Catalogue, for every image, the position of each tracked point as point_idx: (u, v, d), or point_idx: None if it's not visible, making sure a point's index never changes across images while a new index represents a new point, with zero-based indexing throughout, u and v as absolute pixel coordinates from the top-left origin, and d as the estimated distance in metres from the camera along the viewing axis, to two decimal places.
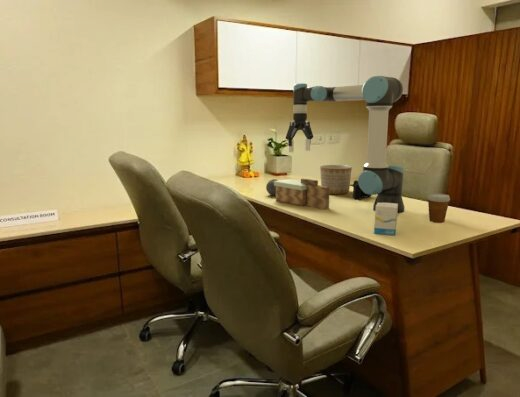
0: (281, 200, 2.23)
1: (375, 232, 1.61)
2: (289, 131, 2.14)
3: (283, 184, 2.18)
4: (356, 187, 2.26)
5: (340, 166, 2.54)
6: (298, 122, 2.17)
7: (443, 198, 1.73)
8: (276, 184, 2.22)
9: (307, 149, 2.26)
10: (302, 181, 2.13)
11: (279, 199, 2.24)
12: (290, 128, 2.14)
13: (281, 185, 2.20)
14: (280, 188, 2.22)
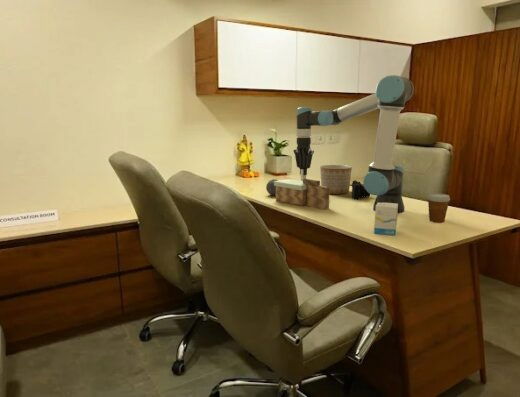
0: (281, 200, 2.23)
1: (375, 232, 1.61)
2: None
3: (283, 184, 2.18)
4: (355, 187, 2.26)
5: (340, 166, 2.54)
6: (298, 146, 2.12)
7: (443, 198, 1.73)
8: (276, 184, 2.22)
9: None
10: (304, 181, 2.12)
11: (279, 199, 2.24)
12: None
13: (281, 185, 2.20)
14: (280, 188, 2.22)
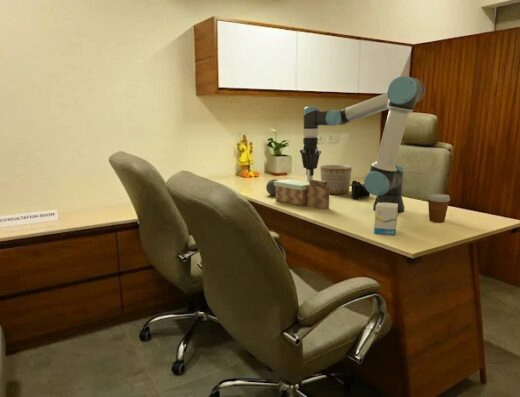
0: (281, 200, 2.23)
1: (375, 232, 1.61)
2: None
3: (283, 184, 2.18)
4: (355, 187, 2.25)
5: (340, 166, 2.54)
6: (304, 146, 2.09)
7: (443, 198, 1.73)
8: (276, 184, 2.22)
9: None
10: (311, 182, 2.09)
11: (279, 199, 2.24)
12: None
13: (281, 185, 2.20)
14: (280, 188, 2.22)
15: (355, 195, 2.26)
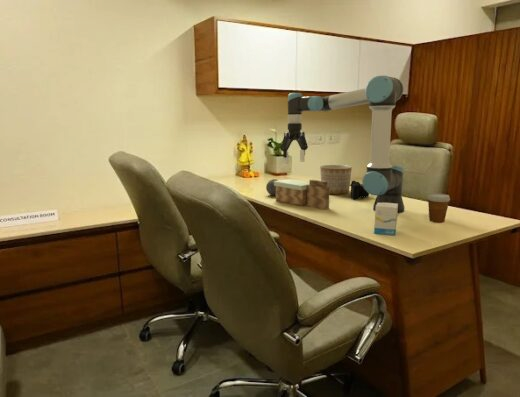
0: (281, 200, 2.23)
1: (375, 232, 1.61)
2: (284, 142, 2.10)
3: (283, 184, 2.18)
4: (354, 187, 2.25)
5: (340, 166, 2.54)
6: (292, 132, 2.12)
7: (443, 198, 1.73)
8: (276, 184, 2.22)
9: (301, 160, 2.21)
10: (311, 182, 2.09)
11: (279, 199, 2.24)
12: (284, 139, 2.10)
13: (281, 185, 2.20)
14: (280, 188, 2.22)
15: (354, 195, 2.26)
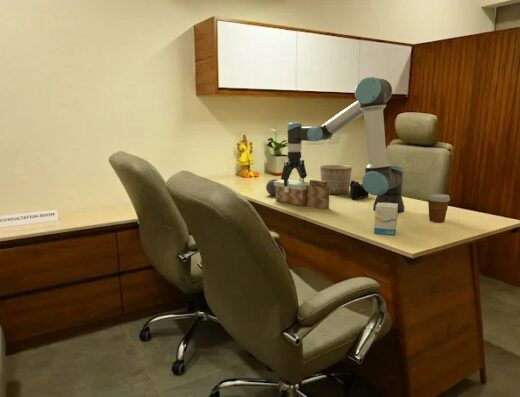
0: (281, 200, 2.23)
1: (375, 232, 1.61)
2: (284, 171, 2.13)
3: (283, 184, 2.18)
4: (354, 187, 2.25)
5: (340, 166, 2.54)
6: (292, 161, 2.15)
7: (443, 198, 1.73)
8: (276, 184, 2.22)
9: None
10: (311, 182, 2.09)
11: (279, 199, 2.24)
12: (285, 168, 2.13)
13: (281, 185, 2.20)
14: (280, 188, 2.22)
15: (354, 195, 2.26)
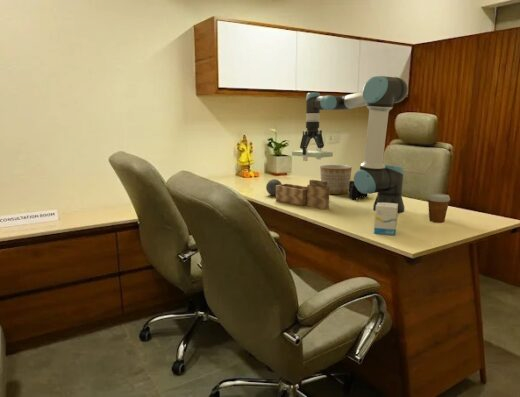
0: (281, 200, 2.23)
1: (375, 232, 1.61)
2: (303, 140, 2.19)
3: (301, 153, 2.25)
4: (353, 187, 2.25)
5: (340, 166, 2.54)
6: (311, 130, 2.21)
7: (443, 198, 1.73)
8: (295, 154, 2.29)
9: (318, 158, 2.30)
10: (311, 182, 2.09)
11: (279, 199, 2.24)
12: (304, 137, 2.19)
13: (299, 154, 2.26)
14: (280, 188, 2.22)
15: (353, 195, 2.25)
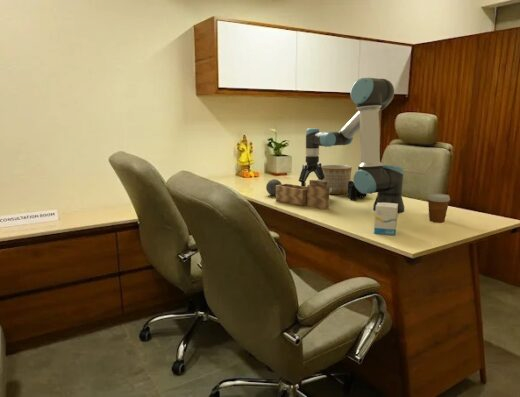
0: (281, 200, 2.23)
1: (375, 232, 1.61)
2: (302, 174, 2.23)
3: None
4: (352, 187, 2.25)
5: (340, 166, 2.54)
6: (310, 165, 2.25)
7: (443, 198, 1.73)
8: None
9: None
10: (311, 182, 2.09)
11: (279, 199, 2.24)
12: (303, 171, 2.23)
13: None
14: (280, 188, 2.22)
15: (352, 195, 2.25)
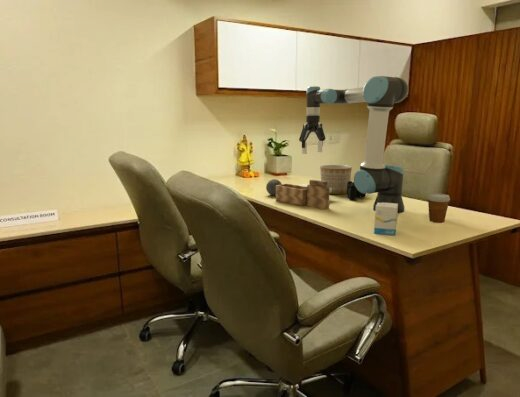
0: (281, 200, 2.23)
1: (375, 232, 1.61)
2: (302, 133, 2.18)
3: None
4: (351, 188, 2.24)
5: (340, 166, 2.54)
6: (311, 124, 2.21)
7: (443, 198, 1.73)
8: None
9: (319, 151, 2.30)
10: (311, 182, 2.09)
11: (279, 199, 2.24)
12: (303, 130, 2.19)
13: None
14: (280, 188, 2.22)
15: (352, 195, 2.25)
